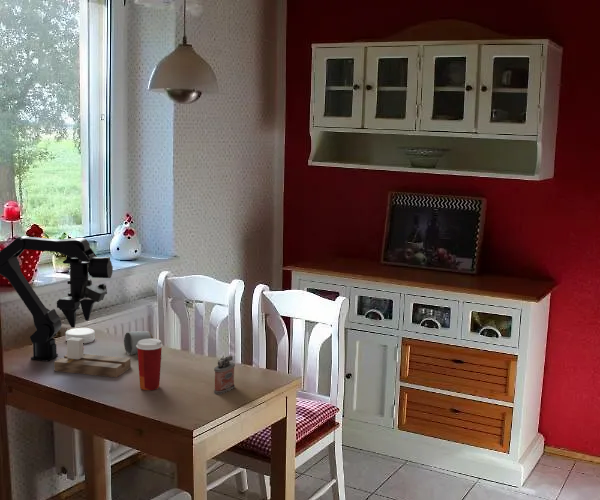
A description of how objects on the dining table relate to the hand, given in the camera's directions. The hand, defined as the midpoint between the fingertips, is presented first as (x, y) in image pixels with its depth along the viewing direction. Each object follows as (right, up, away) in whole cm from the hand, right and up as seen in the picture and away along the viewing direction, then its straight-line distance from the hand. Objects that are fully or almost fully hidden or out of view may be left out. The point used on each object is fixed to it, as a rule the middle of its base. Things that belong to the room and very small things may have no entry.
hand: (80, 323), depth 244 cm
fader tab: (+1, -11, -7) cm, 13 cm away
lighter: (+49, -18, -23) cm, 57 cm away
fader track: (+6, -14, -7) cm, 17 cm away
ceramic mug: (+16, -11, +12) cm, 23 cm away
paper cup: (+27, -17, -22) cm, 39 cm away
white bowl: (-7, -9, +24) cm, 26 cm away
